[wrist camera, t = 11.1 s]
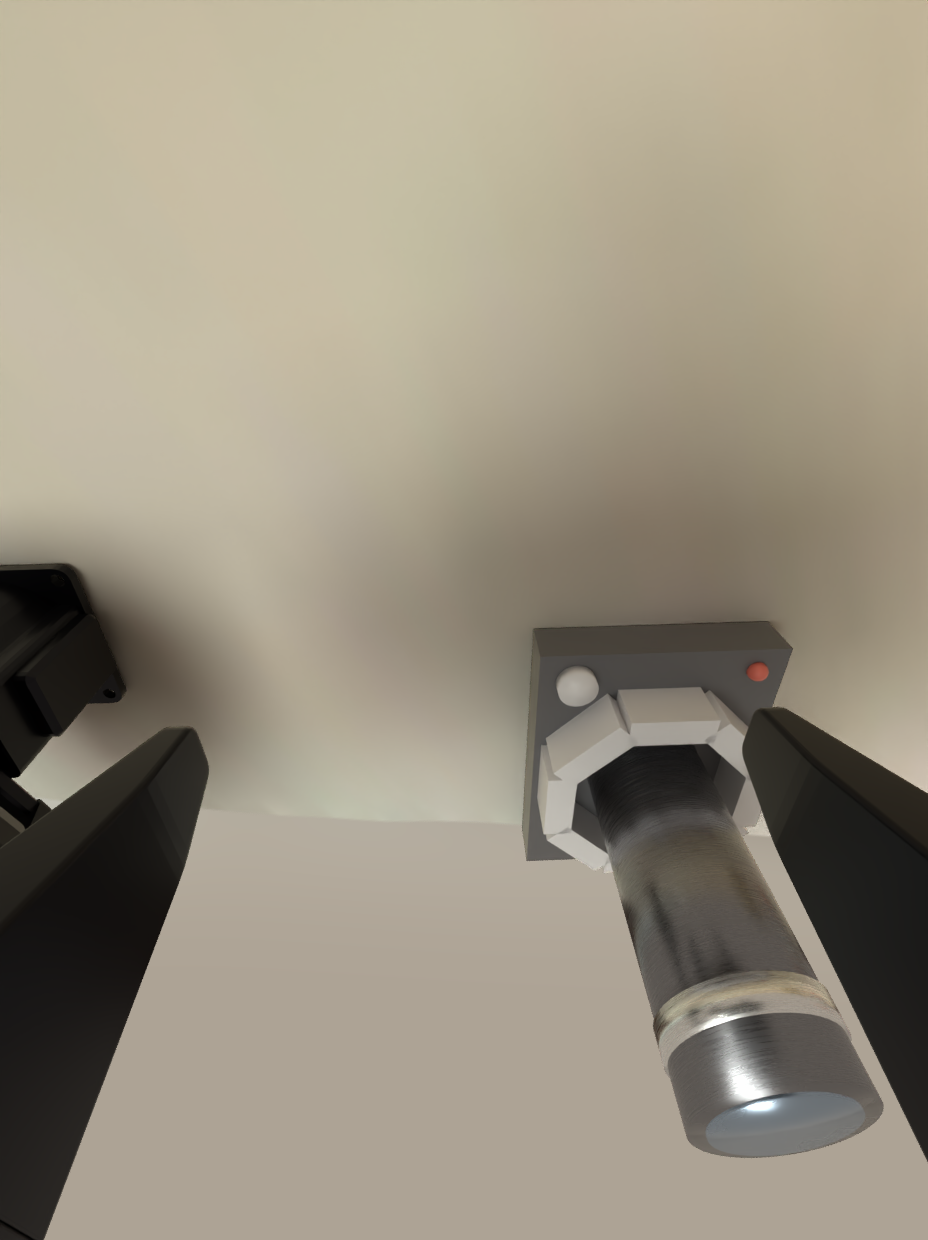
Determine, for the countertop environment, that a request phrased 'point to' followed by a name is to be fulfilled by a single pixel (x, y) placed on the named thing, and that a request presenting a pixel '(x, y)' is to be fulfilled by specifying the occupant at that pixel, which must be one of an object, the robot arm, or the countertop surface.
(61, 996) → the robot arm
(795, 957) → the lens
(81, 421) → the countertop surface
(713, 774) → the camera body
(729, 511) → the countertop surface
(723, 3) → the countertop surface
